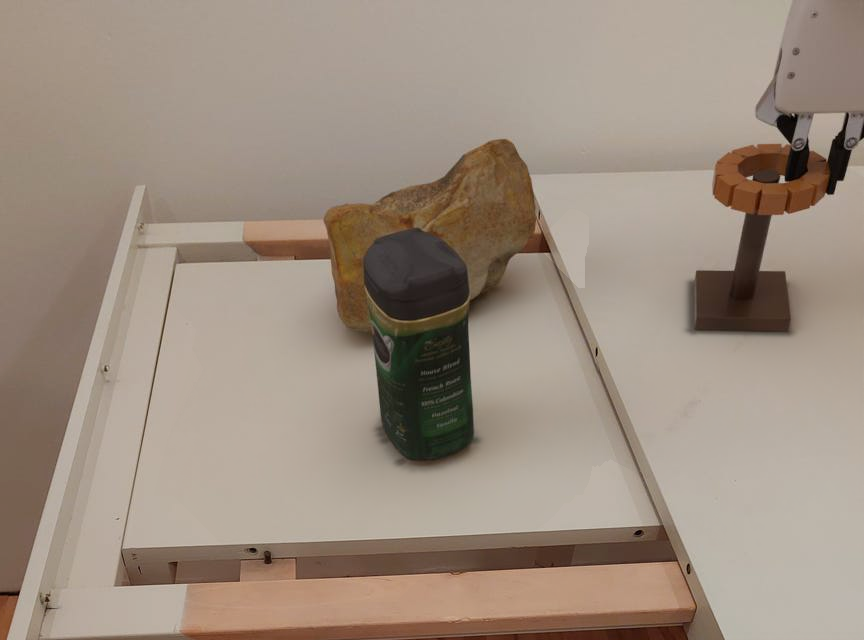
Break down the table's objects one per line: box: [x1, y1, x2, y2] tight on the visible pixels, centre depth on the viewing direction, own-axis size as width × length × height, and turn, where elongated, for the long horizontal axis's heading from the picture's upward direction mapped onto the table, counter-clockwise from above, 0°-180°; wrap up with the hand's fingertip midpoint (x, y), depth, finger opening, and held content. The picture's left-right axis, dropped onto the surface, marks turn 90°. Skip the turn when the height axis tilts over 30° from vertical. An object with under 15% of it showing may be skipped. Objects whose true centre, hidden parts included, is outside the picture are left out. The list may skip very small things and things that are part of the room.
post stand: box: [693, 170, 792, 333], centre depth 92 cm, size 9×9×14 cm
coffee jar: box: [363, 227, 475, 462], centre depth 82 cm, size 10×8×19 cm
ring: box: [711, 143, 830, 216], centre depth 87 cm, size 10×10×2 cm
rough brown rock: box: [323, 138, 537, 335], centre depth 100 cm, size 23×17×15 cm
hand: (811, 186), depth 87 cm, fingers closed on ring, 2 cm apart
